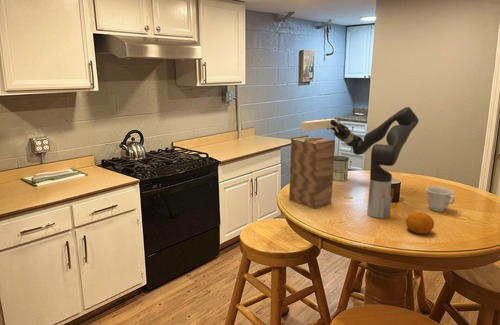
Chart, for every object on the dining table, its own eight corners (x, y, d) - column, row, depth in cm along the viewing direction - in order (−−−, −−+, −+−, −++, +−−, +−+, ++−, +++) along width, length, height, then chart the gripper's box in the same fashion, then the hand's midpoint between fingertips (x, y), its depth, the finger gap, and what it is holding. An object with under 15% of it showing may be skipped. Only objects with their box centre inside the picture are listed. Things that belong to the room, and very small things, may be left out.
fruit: (424, 225, 156) (426, 208, 154) (437, 236, 145) (440, 218, 143) (400, 226, 155) (402, 208, 153) (412, 236, 145) (414, 218, 143)
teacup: (441, 217, 165) (443, 197, 162) (418, 206, 178) (420, 187, 176) (462, 215, 168) (465, 194, 165) (438, 204, 182) (440, 185, 179)
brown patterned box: (331, 203, 182) (335, 140, 174) (315, 209, 175) (318, 142, 167) (304, 194, 196) (307, 135, 188) (289, 199, 188) (291, 137, 181)
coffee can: (329, 177, 230) (330, 155, 227) (345, 177, 229) (347, 156, 226) (331, 181, 221) (332, 159, 217) (348, 182, 220) (350, 159, 216)
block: (337, 126, 192) (337, 119, 191) (306, 130, 177) (306, 122, 176) (331, 126, 195) (331, 118, 194) (300, 129, 180) (300, 121, 179)
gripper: (352, 142, 195) (336, 128, 183) (331, 138, 205) (314, 125, 194) (357, 129, 195) (341, 115, 184) (336, 126, 206) (320, 113, 195)
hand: (328, 120), depth 189 cm, fingers closed on block, 4 cm apart
